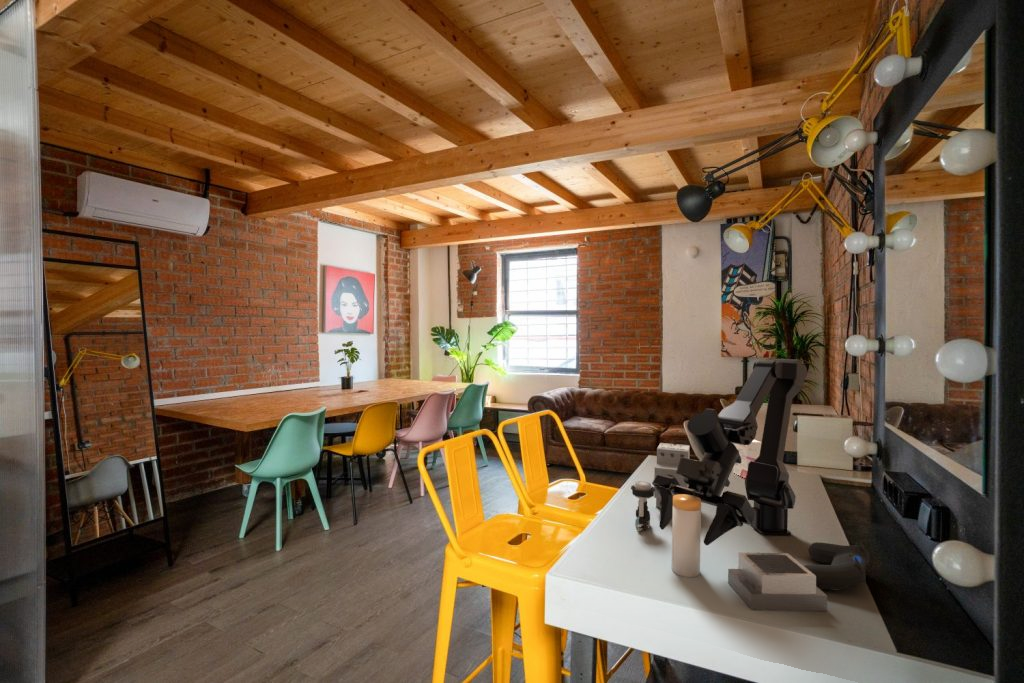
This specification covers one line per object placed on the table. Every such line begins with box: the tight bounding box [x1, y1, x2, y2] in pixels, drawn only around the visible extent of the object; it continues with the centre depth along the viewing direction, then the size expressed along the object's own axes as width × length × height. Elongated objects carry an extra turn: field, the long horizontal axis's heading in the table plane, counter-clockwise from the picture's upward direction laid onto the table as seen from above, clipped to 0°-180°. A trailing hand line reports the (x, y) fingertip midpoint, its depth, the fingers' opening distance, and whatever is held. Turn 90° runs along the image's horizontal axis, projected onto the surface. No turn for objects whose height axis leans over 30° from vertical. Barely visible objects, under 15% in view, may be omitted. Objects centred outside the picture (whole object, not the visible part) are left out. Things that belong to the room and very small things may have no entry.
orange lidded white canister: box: [671, 494, 702, 578], centre depth 95 cm, size 5×5×14 cm
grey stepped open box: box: [727, 552, 828, 612], centre depth 86 cm, size 12×9×6 cm
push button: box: [630, 480, 655, 532], centre depth 117 cm, size 7×5×10 cm
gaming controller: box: [802, 540, 870, 590], centre depth 93 cm, size 17×6×10 cm
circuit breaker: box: [653, 442, 691, 508], centre depth 130 cm, size 8×14×15 cm, turn 158°
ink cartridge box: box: [732, 439, 762, 479], centre depth 161 cm, size 9×5×15 cm, turn 5°
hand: (682, 535), depth 95 cm, fingers open, 9 cm apart
